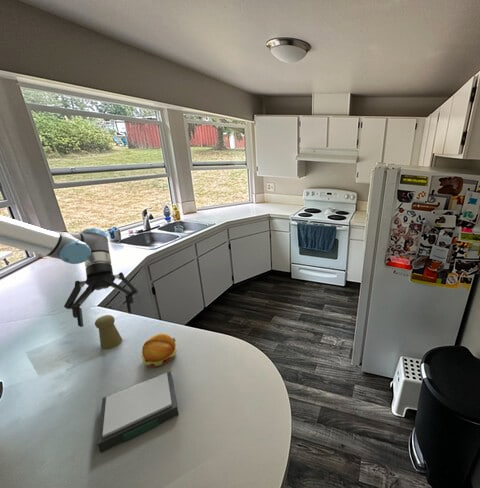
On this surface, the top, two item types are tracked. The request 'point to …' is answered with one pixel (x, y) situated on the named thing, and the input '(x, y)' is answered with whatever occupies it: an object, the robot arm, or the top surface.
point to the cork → (108, 332)
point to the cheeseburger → (158, 350)
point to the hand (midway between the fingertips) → (106, 319)
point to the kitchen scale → (136, 410)
